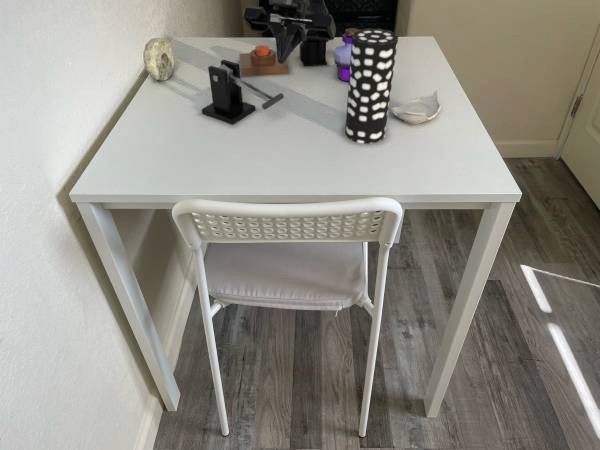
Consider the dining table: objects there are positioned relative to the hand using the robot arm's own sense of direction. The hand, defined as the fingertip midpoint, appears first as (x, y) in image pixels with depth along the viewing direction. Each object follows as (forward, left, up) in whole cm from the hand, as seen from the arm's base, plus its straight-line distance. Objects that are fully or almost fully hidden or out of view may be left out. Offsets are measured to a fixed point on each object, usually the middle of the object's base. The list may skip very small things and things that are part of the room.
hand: (280, 62), depth 93 cm
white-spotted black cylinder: (-16, +10, -12) cm, 23 cm away
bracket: (+12, -4, -12) cm, 17 cm away
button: (+2, -28, -9) cm, 30 cm away
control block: (+2, -28, -12) cm, 31 cm away
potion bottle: (-19, -18, -13) cm, 29 cm away
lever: (+7, 0, -6) cm, 9 cm away
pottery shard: (-28, +6, -13) cm, 32 cm away
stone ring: (+28, -25, -13) cm, 39 cm away
